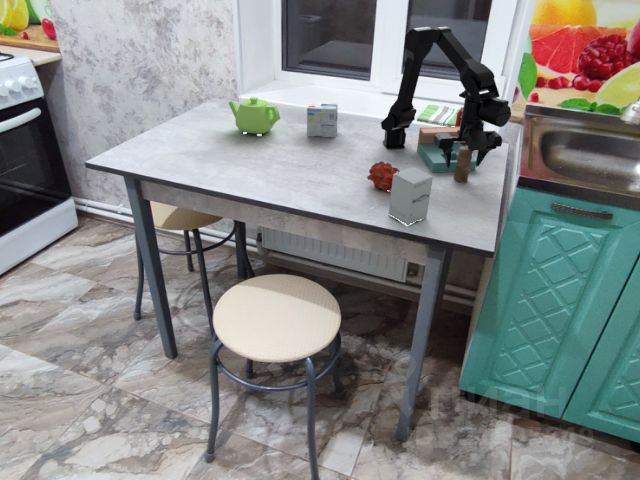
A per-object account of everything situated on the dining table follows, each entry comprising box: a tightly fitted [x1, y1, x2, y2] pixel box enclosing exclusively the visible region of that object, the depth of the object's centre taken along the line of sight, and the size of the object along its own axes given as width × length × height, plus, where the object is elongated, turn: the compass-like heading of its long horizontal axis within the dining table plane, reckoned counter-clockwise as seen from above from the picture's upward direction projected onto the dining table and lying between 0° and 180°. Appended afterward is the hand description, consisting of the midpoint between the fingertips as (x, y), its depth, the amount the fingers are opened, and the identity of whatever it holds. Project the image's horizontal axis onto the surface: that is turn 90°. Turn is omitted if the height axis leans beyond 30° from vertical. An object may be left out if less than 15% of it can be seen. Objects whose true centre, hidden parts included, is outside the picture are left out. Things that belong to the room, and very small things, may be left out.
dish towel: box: [416, 104, 460, 127], centre depth 189 cm, size 17×23×4 cm
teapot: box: [228, 96, 281, 134], centre depth 173 cm, size 20×13×13 cm
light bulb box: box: [306, 101, 339, 138], centre depth 172 cm, size 11×7×11 cm, turn 83°
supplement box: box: [388, 166, 434, 225], centre depth 123 cm, size 7×7×13 cm
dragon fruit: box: [367, 160, 401, 192], centre depth 138 cm, size 8×8×12 cm
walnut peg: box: [453, 145, 474, 183], centre depth 142 cm, size 4×4×10 cm
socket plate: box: [416, 126, 477, 173], centre depth 155 cm, size 14×17×8 cm
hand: (462, 166), depth 143 cm, fingers open, 9 cm apart
